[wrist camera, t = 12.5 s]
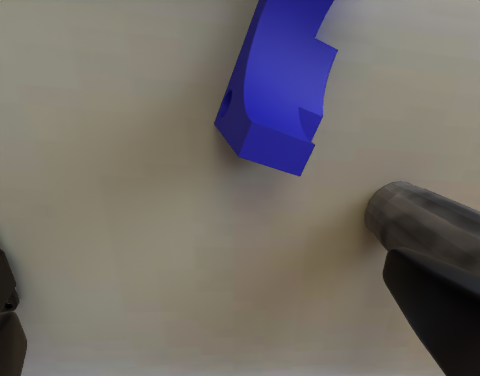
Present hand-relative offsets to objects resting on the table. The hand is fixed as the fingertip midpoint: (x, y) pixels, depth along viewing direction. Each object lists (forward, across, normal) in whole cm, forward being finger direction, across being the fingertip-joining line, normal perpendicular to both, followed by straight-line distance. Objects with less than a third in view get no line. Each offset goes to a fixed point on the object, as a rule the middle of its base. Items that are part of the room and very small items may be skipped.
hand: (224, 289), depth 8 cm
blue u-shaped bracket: (+12, -6, -6) cm, 15 cm away
